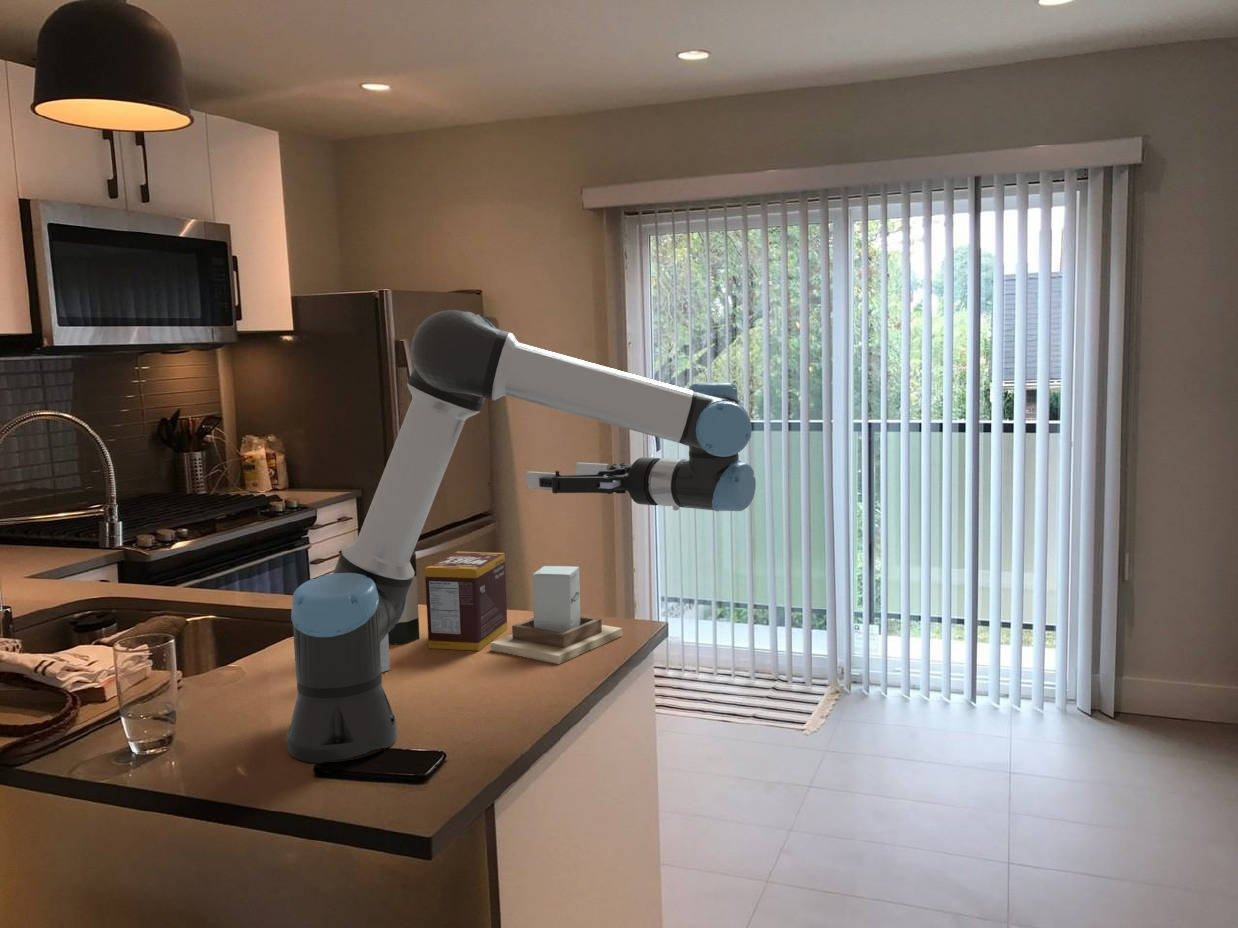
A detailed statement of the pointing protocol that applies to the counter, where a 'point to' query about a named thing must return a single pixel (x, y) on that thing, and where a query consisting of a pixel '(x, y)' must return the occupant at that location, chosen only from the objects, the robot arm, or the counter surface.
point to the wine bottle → (408, 615)
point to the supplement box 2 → (556, 598)
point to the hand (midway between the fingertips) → (553, 474)
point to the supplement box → (466, 600)
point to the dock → (555, 640)
